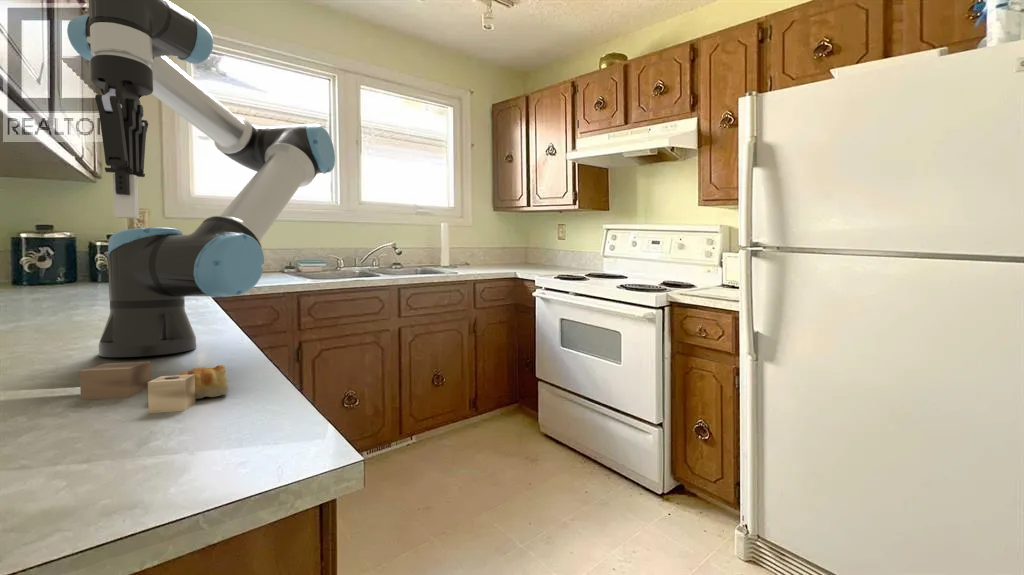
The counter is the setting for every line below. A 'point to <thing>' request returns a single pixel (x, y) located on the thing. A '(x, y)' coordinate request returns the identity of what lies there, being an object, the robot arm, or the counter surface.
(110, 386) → the walnut block
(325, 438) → the counter surface
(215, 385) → the pastry
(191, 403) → the beech block
